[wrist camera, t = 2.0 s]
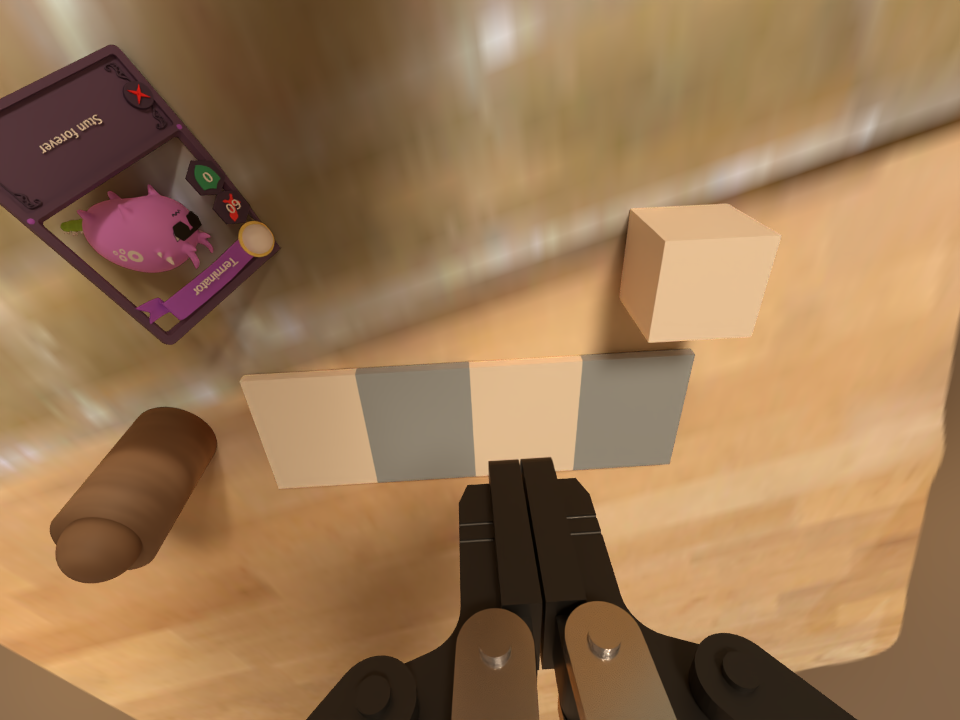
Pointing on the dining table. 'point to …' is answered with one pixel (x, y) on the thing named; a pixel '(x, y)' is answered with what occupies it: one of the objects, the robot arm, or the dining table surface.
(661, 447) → the board
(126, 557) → the brown cylinder
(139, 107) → the game card
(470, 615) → the robot arm
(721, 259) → the cube
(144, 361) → the dining table surface
